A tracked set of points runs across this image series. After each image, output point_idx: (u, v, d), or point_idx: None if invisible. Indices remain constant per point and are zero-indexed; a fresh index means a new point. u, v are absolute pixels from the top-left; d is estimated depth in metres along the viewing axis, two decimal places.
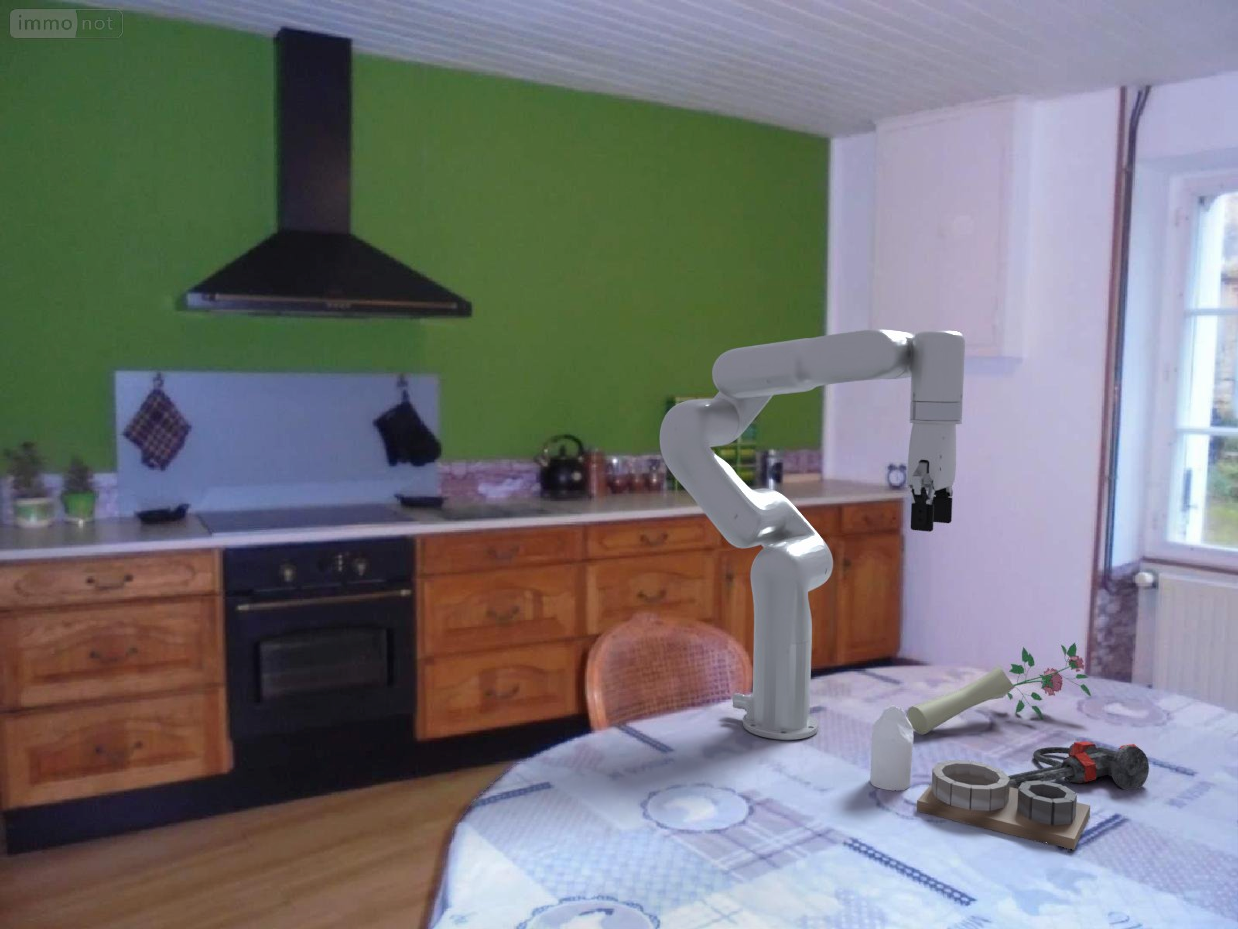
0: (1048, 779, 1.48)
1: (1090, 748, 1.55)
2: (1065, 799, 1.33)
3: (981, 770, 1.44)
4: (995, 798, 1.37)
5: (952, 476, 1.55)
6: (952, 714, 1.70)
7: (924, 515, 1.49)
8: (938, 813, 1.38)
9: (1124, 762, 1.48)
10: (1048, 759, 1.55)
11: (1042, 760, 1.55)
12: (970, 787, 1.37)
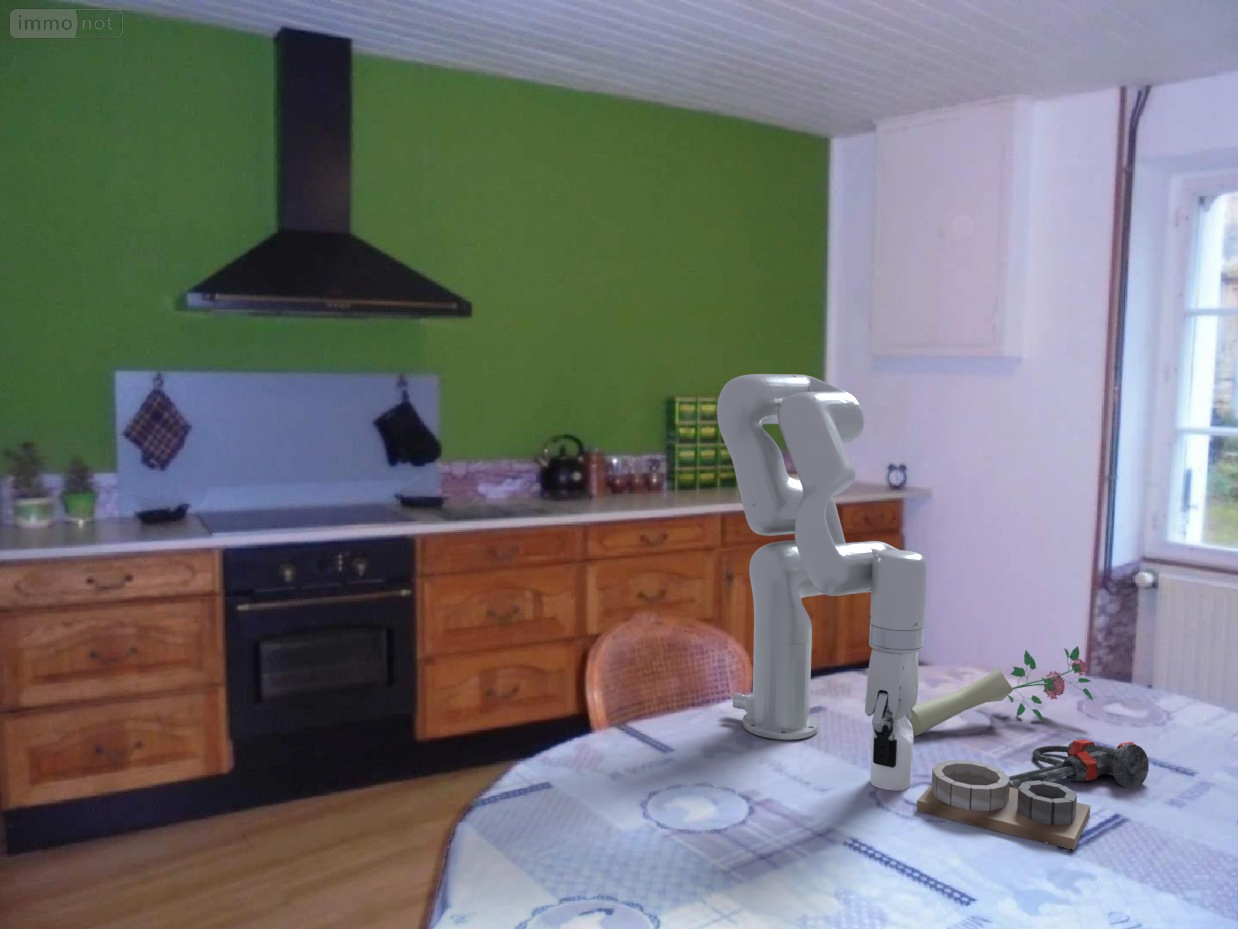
0: (1051, 778, 1.48)
1: (1089, 746, 1.55)
2: (1065, 799, 1.33)
3: (981, 770, 1.44)
4: (995, 798, 1.37)
5: (914, 699, 1.48)
6: (948, 716, 1.69)
7: (886, 751, 1.44)
8: (938, 813, 1.38)
9: (1125, 761, 1.48)
10: (1048, 758, 1.55)
11: (1042, 759, 1.56)
12: (970, 787, 1.37)
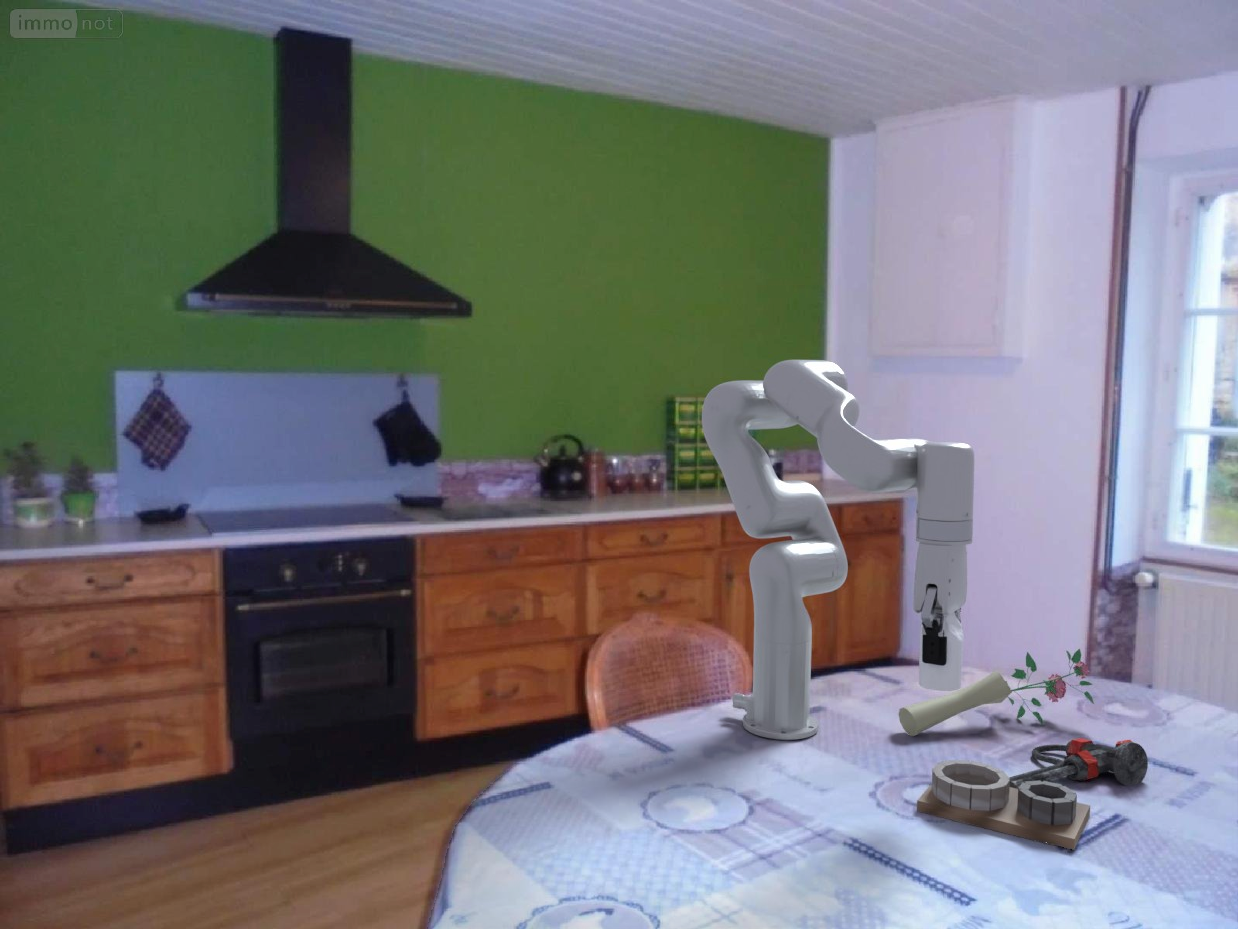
0: (1053, 778, 1.48)
1: (1088, 745, 1.56)
2: (1065, 799, 1.33)
3: (981, 770, 1.44)
4: (995, 798, 1.37)
5: (963, 597, 1.43)
6: (944, 717, 1.68)
7: (936, 648, 1.39)
8: (938, 813, 1.38)
9: (1125, 759, 1.49)
10: (1048, 757, 1.55)
11: (1042, 758, 1.56)
12: (970, 787, 1.37)
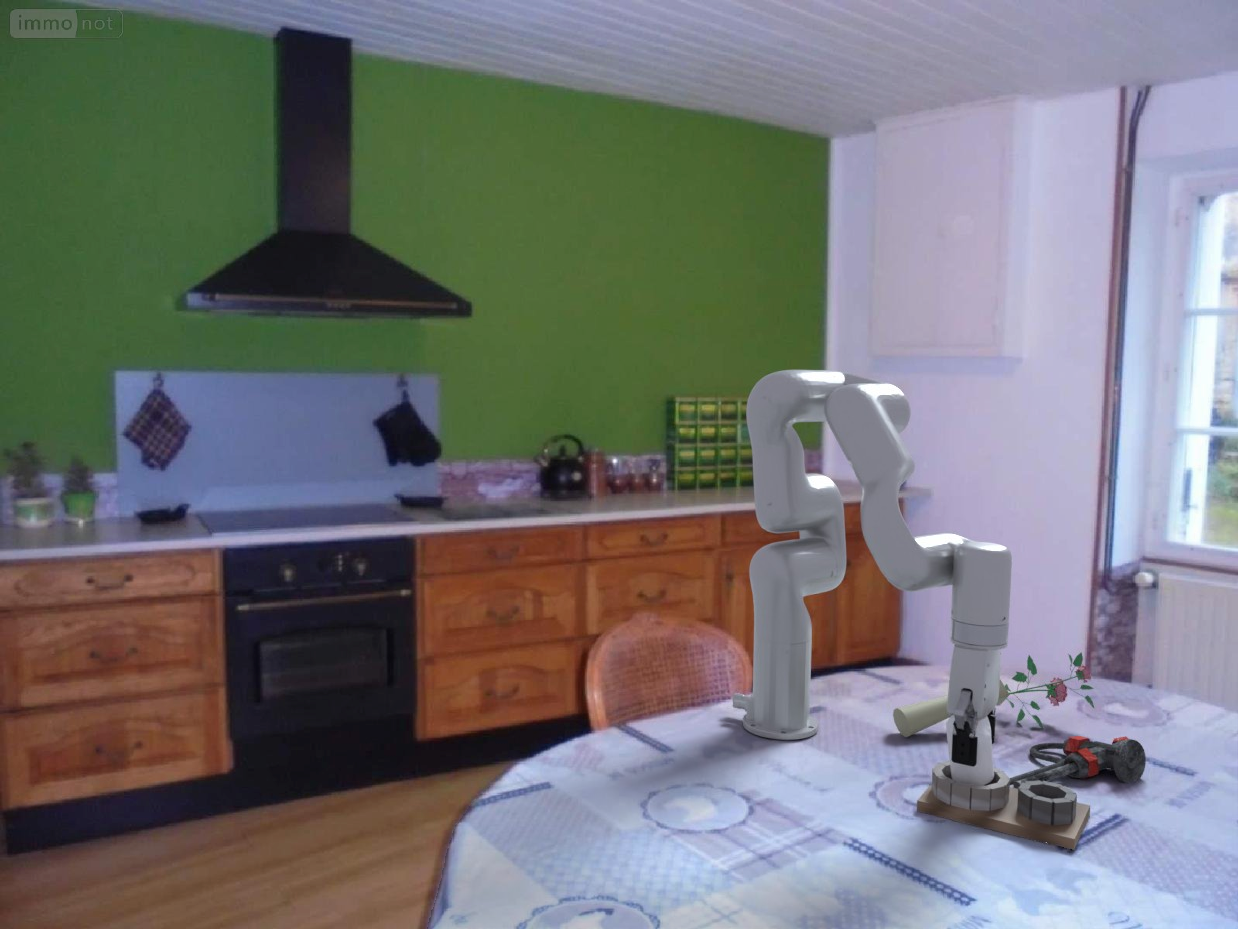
0: (1056, 776, 1.49)
1: (1086, 743, 1.57)
2: (1065, 799, 1.33)
3: None
4: (995, 798, 1.37)
5: (996, 698, 1.42)
6: (939, 718, 1.68)
7: (967, 749, 1.36)
8: (938, 813, 1.38)
9: (1125, 756, 1.50)
10: (1048, 756, 1.56)
11: (1041, 757, 1.57)
12: (970, 787, 1.37)
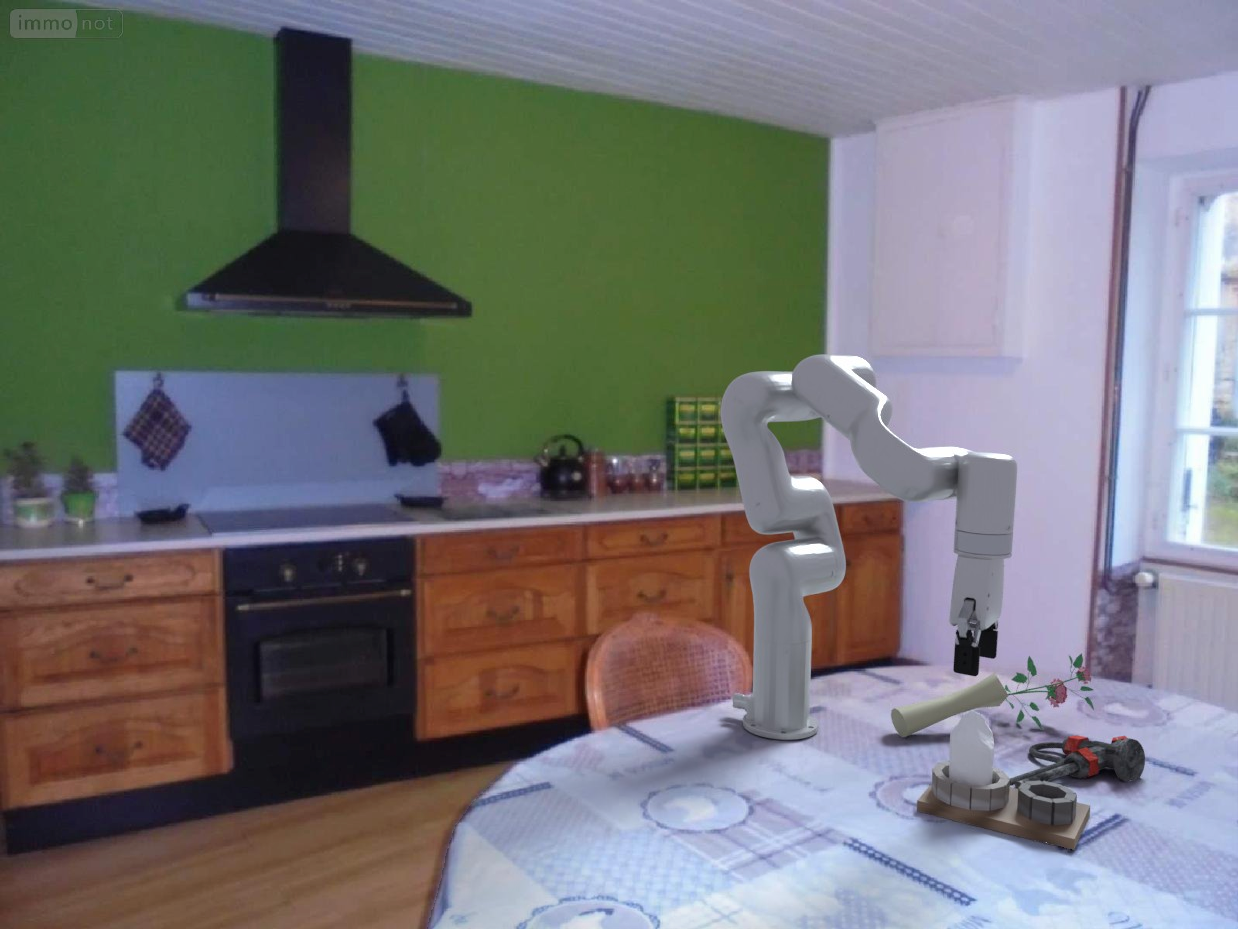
0: (1056, 776, 1.49)
1: (1085, 742, 1.57)
2: (1065, 799, 1.33)
3: None
4: (995, 798, 1.37)
5: (999, 610, 1.41)
6: (936, 719, 1.67)
7: (969, 659, 1.35)
8: (938, 813, 1.38)
9: (1125, 755, 1.50)
10: (1048, 755, 1.56)
11: (1041, 757, 1.57)
12: (970, 787, 1.37)
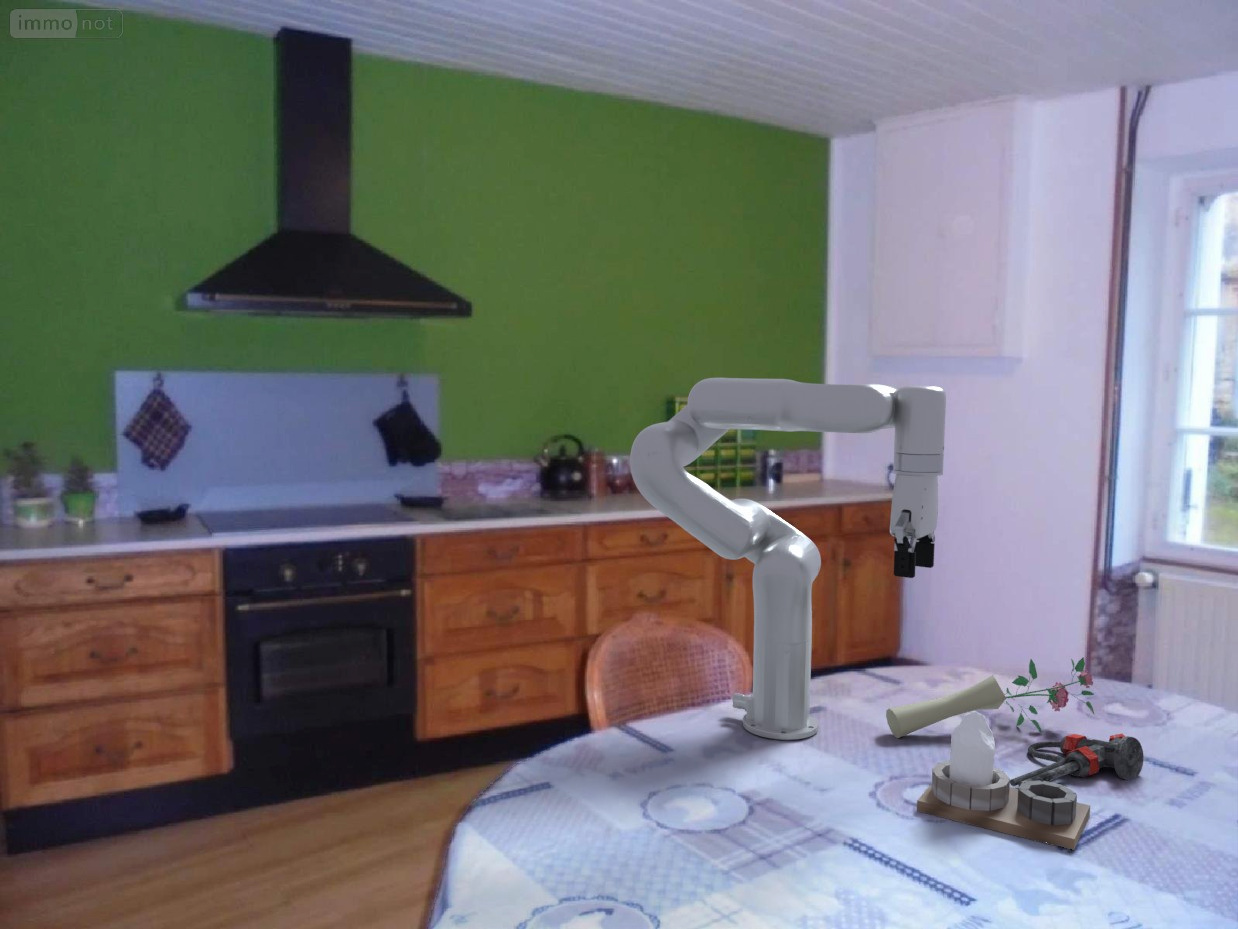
0: (1058, 776, 1.49)
1: (1084, 741, 1.58)
2: (1065, 799, 1.33)
3: None
4: (995, 798, 1.37)
5: (934, 523, 1.62)
6: (931, 720, 1.67)
7: (906, 562, 1.56)
8: (938, 813, 1.38)
9: (1125, 753, 1.51)
10: (1047, 755, 1.56)
11: (1041, 756, 1.57)
12: (970, 787, 1.37)
